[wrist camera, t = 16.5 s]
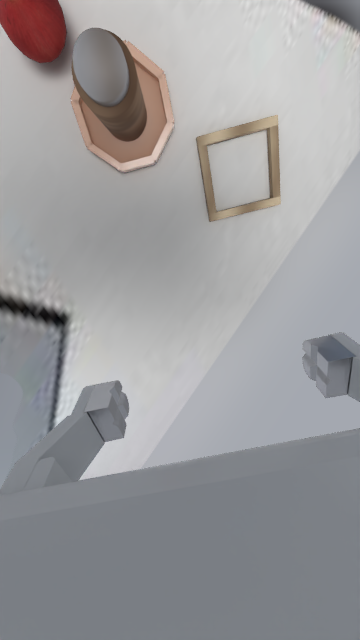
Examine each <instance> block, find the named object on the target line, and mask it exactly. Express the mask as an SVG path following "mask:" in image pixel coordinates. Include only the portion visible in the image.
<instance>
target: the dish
mask: <svg viewBox="0 0 360 640" xmlns="http://www.w3.org/2000/svg"><path fill="white" fill-rule="evenodd" d="M123 42H124V43H125V45H126V46H127V48H128V49H129V51H130V53H131V55H132V57H133V60H134V63H135V67H136V71H137V75H138V79H139V83H140V87H141V91H142V95H143V99H144V103H145V106H146V111H147V123H146V127H145V129H144V131H143V133H142V134H141V136H140V137H139V138H137V139H136V140H134V141H130V142H125V141H121V140H119V139H117V138H116V137H114V136H113V135H112V134H111V133H110V132H109V130H108V129H107V128H106V127H105V126H104V125H103V123H102V122H101V121H100V120H99V119H98V118H97V117H96V115H95V114H94V113H93V112H92V111H91V110H90V108H89V107H88V106H87V105H86V104H85V103H84V101H83V100H82V99H81V97H80V95H79V93H78V91H77V89H76V87H74V90H73V93H72V96H71V100H72V101H71V104H72V107H73V110H74V113H75V116H76V119H77V122H78V125H79V128H80V131H81V133H82V136H83V139H84V142H85V145H86V147H87V148H88V150H90V151H91V152H93V153H94V154H96V155H97V156H99V157H100V158H102V159H103V160H104V161H106V162H107V163H109V164H110V165H112V166H113V167H115V168H116V169H118V170H119V171H121V172H124V173H126V172H129V171H133V170H137V169H140V168H144V167H148V166H151V165H155V162H156V163H157V162H158V160H159V157H160V155H161V153H162V151H163V149H164V147H165V145H166V143H167V141H168V139H169V137H170V135H171V133H172V131H173V129H174V118H173V113H172V108H171V103H170V97H169V92H168V87H167V82H166V76H165V74H164V71H163V70H162V69H161V68H159V67H158V66H157V65H156V64H155V63H154V62H152V61H151V60H150V59H149V58H148V57H147V56H145V55H144V54H143V53H142V52H141V51H140V50H138V49H137V48H136V47H135V46H134V45H133V44H131V43H130V42H129V41H128V42H127V43H126V40H125V41H123Z"/></svg>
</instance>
